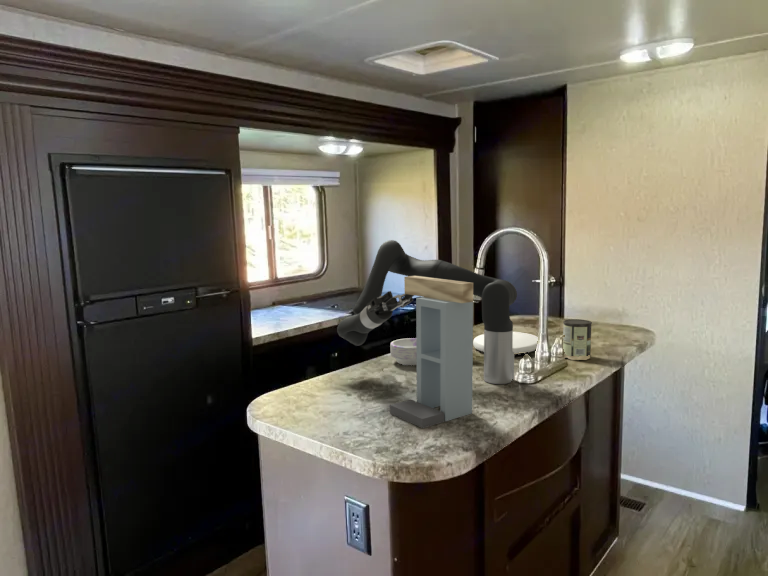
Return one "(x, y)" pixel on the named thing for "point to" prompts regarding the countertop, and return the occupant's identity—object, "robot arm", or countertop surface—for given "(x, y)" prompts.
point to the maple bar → (439, 289)
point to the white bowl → (404, 351)
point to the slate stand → (444, 355)
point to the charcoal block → (417, 413)
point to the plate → (520, 342)
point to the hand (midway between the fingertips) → (402, 292)
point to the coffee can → (577, 337)
